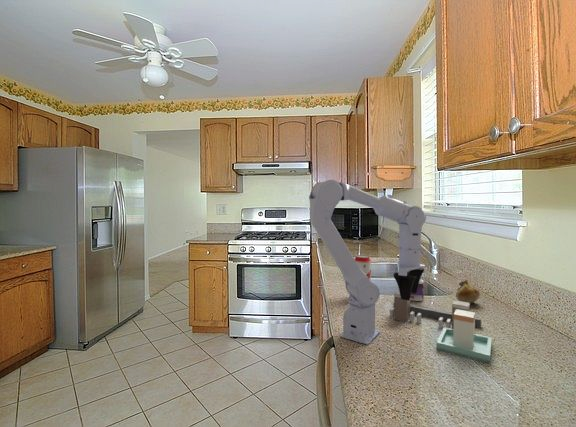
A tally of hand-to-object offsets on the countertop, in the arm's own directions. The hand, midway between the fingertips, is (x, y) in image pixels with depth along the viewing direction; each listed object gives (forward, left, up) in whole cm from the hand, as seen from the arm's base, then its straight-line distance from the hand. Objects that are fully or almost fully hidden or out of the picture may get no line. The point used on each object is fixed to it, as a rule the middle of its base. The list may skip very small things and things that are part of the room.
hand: (409, 296), depth 85 cm
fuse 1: (+8, +4, -10) cm, 13 cm away
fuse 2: (+8, -12, -10) cm, 17 cm away
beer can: (+20, +22, -10) cm, 31 cm away
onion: (+36, -11, -10) cm, 39 cm away
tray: (-2, -14, -10) cm, 17 cm away
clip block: (+11, -4, -10) cm, 16 cm away
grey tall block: (-2, -14, -9) cm, 17 cm away
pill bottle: (+30, +5, -10) cm, 32 cm away
